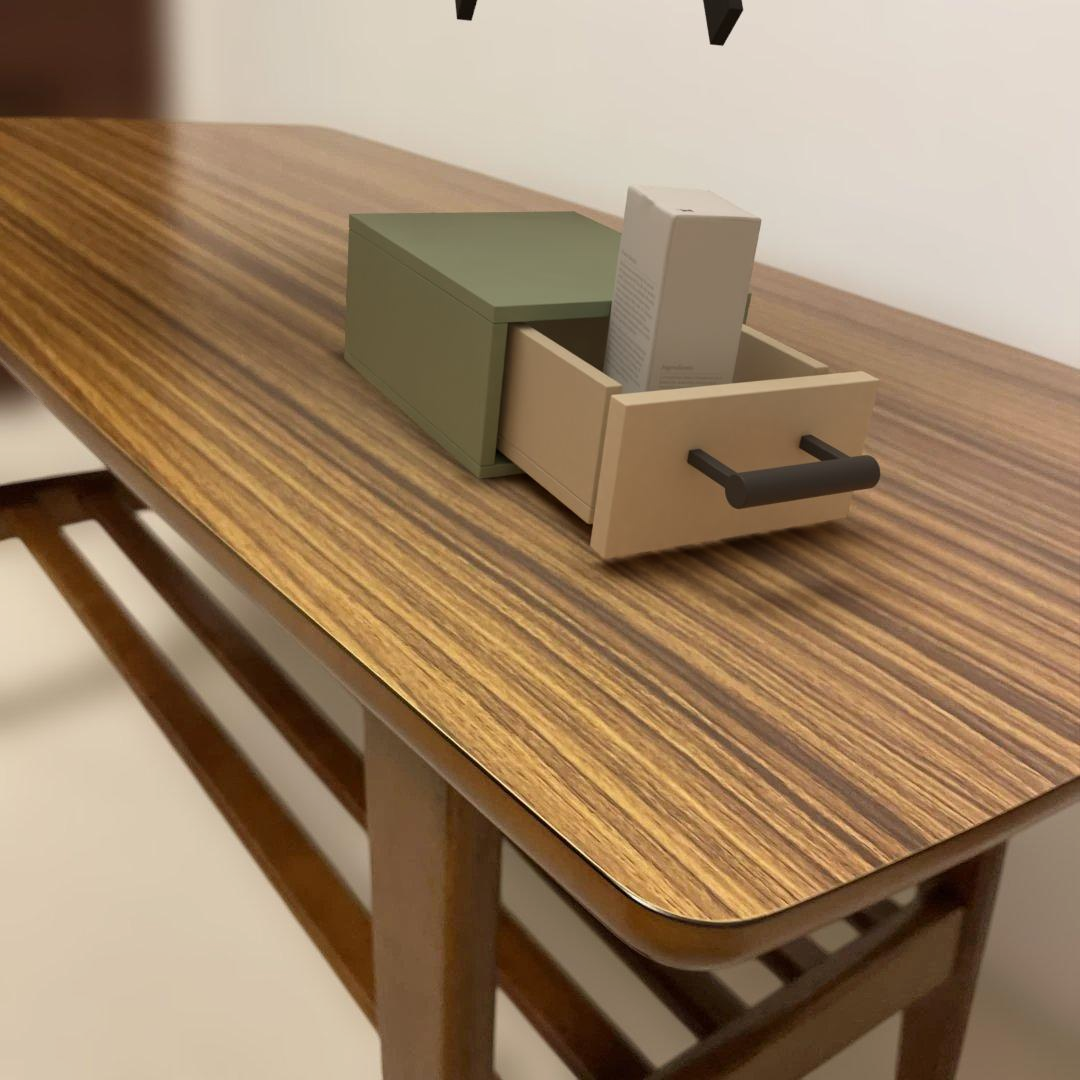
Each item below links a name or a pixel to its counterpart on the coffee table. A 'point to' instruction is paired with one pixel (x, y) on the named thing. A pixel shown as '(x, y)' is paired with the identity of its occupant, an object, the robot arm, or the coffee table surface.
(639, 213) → the cosmetic box
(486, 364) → the cabinet
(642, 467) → the drawer
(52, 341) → the coffee table surface
